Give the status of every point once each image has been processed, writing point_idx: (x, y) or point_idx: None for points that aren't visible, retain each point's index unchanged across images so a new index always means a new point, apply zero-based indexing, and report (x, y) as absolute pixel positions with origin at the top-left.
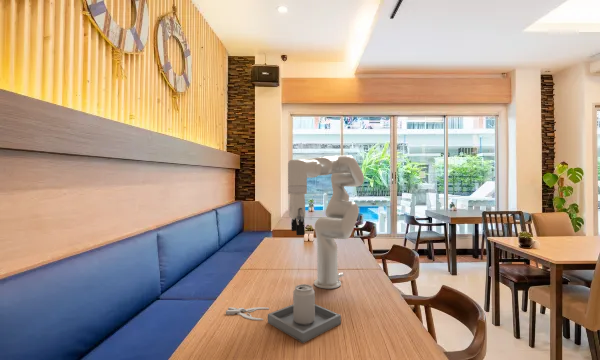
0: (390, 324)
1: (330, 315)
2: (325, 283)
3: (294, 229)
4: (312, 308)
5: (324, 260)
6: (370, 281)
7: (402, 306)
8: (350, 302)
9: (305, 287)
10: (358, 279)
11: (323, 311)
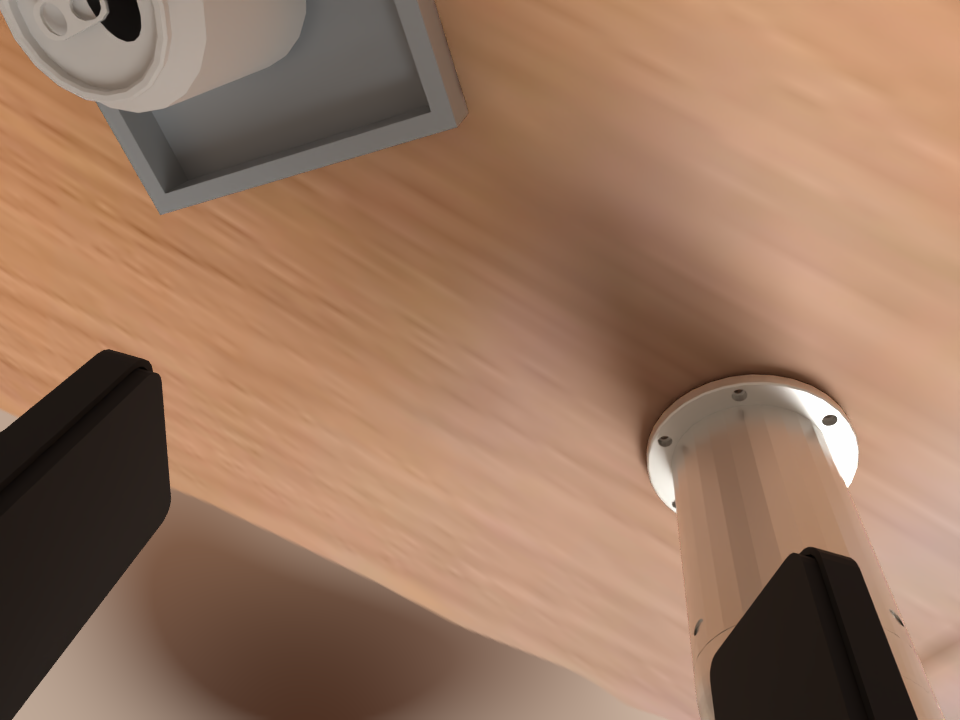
0: None
1: (218, 173)
2: (701, 428)
3: (766, 618)
4: (117, 32)
5: (731, 563)
6: (620, 633)
7: (287, 535)
8: (416, 394)
9: (79, 24)
10: None
11: (267, 159)
